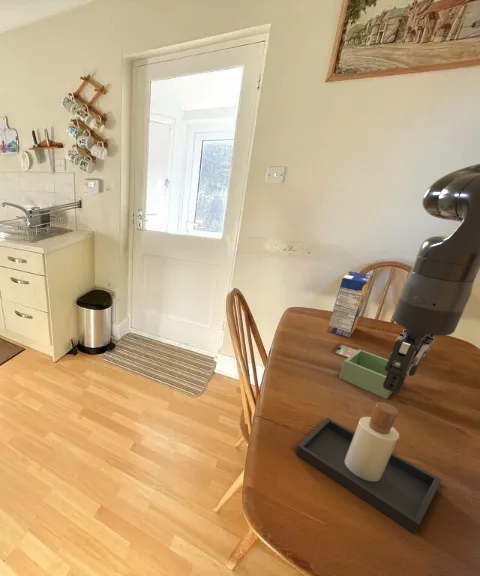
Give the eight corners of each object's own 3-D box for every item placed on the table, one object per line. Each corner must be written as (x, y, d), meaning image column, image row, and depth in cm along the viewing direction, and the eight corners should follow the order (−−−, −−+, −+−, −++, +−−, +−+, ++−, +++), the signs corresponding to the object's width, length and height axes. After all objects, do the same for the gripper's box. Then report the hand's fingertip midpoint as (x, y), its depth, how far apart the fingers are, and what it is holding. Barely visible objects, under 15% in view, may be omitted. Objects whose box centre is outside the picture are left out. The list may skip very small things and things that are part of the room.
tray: (436, 488, 62) (441, 479, 61) (414, 534, 54) (419, 524, 53) (324, 425, 77) (327, 417, 76) (295, 454, 69) (297, 445, 68)
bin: (398, 386, 90) (407, 366, 88) (385, 401, 85) (393, 380, 82) (353, 367, 99) (359, 348, 97) (338, 379, 93) (344, 360, 91)
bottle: (385, 471, 64) (413, 410, 59) (374, 487, 61) (402, 424, 56) (351, 451, 69) (373, 393, 63) (339, 464, 66) (362, 404, 60)
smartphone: (392, 376, 95) (393, 372, 94) (333, 355, 105) (334, 352, 105) (396, 365, 100) (398, 362, 99) (340, 347, 110) (341, 344, 110)
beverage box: (326, 331, 121) (342, 277, 113) (334, 322, 128) (349, 271, 120) (348, 337, 116) (366, 282, 108) (355, 328, 123) (372, 275, 115)
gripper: (453, 320, 45) (414, 409, 51) (474, 297, 52) (437, 377, 58) (387, 303, 51) (358, 385, 57) (413, 285, 58) (386, 359, 64)
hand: (398, 381), depth 57 cm, fingers open, 8 cm apart
